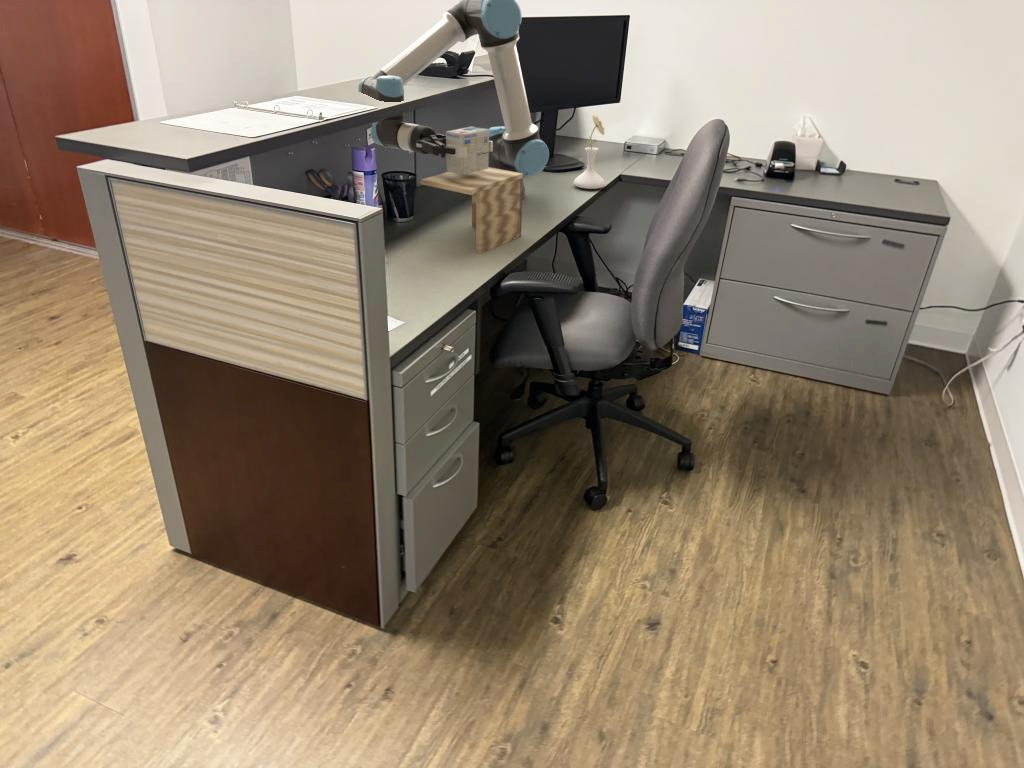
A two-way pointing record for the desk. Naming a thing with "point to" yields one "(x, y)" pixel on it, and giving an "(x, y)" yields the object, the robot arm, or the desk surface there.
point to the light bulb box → (469, 149)
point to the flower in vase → (591, 164)
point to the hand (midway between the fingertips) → (479, 149)
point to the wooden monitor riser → (488, 202)
